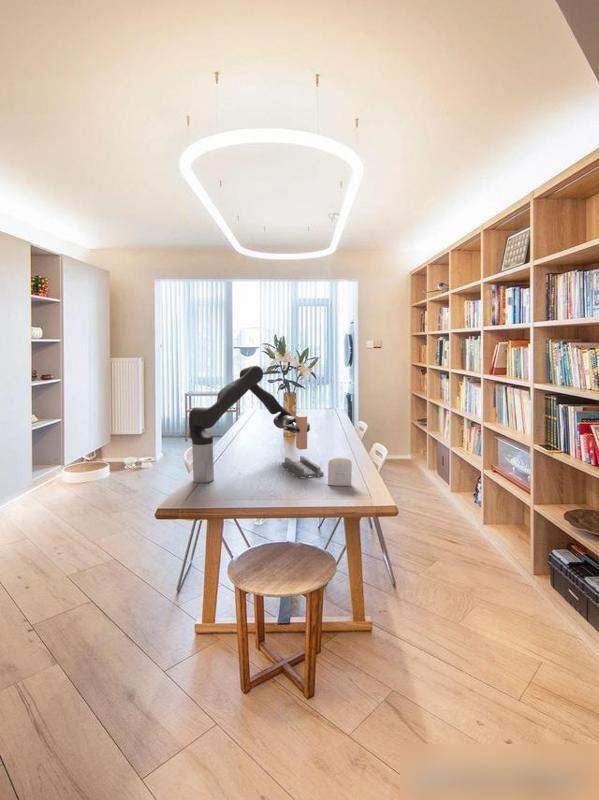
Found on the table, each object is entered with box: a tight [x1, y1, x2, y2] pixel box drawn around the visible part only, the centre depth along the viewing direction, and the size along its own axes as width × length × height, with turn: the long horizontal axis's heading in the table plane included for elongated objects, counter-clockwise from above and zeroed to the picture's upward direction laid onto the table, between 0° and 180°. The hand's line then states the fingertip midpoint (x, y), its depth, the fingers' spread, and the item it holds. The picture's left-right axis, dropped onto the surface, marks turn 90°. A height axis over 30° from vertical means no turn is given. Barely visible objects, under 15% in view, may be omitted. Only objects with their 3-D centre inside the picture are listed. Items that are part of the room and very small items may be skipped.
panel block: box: [295, 414, 308, 451], centre depth 203 cm, size 4×5×16 cm
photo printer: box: [327, 456, 353, 487], centre depth 182 cm, size 10×4×12 cm, turn 85°
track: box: [281, 455, 324, 479], centre depth 205 cm, size 24×13×4 cm, turn 20°
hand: (303, 430), depth 200 cm, fingers closed on panel block, 4 cm apart
